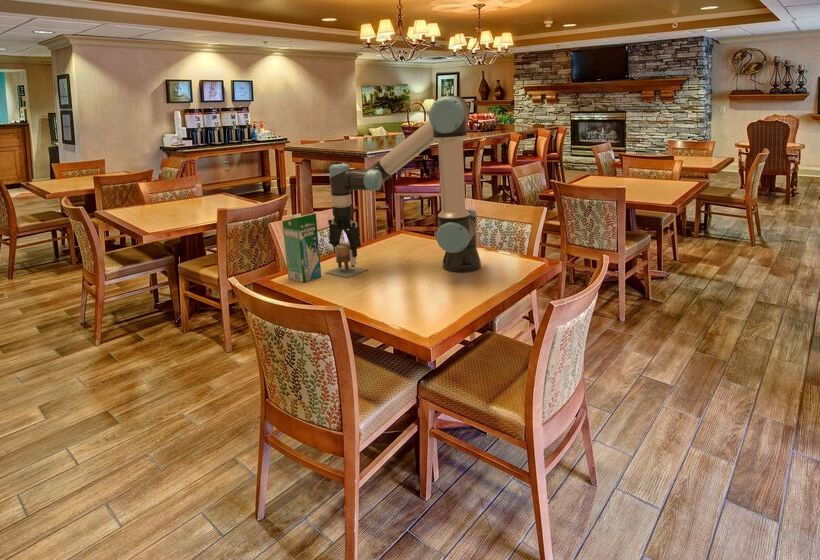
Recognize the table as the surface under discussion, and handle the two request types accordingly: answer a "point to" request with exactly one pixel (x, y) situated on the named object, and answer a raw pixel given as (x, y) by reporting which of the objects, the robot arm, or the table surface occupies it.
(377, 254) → the table surface
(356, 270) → the mat
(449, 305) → the table surface
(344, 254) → the footstool
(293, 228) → the milk carton
